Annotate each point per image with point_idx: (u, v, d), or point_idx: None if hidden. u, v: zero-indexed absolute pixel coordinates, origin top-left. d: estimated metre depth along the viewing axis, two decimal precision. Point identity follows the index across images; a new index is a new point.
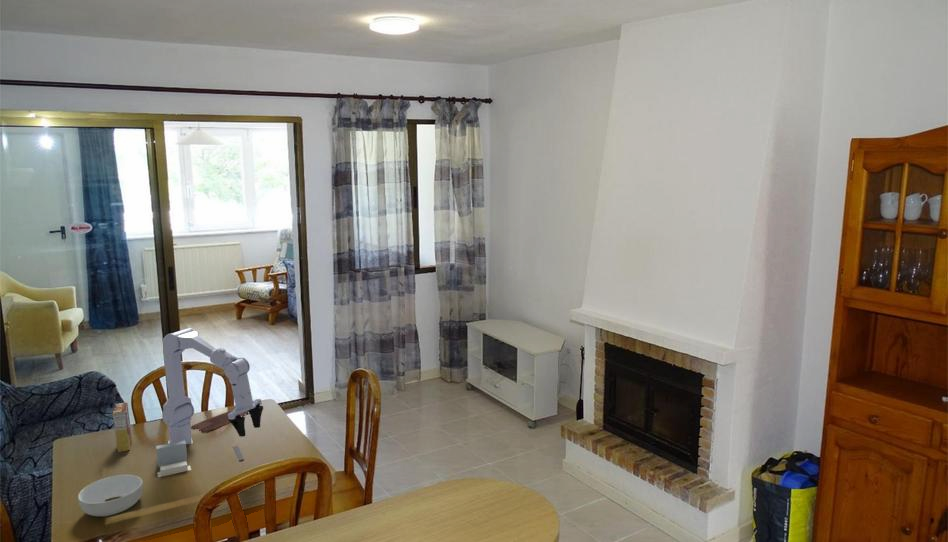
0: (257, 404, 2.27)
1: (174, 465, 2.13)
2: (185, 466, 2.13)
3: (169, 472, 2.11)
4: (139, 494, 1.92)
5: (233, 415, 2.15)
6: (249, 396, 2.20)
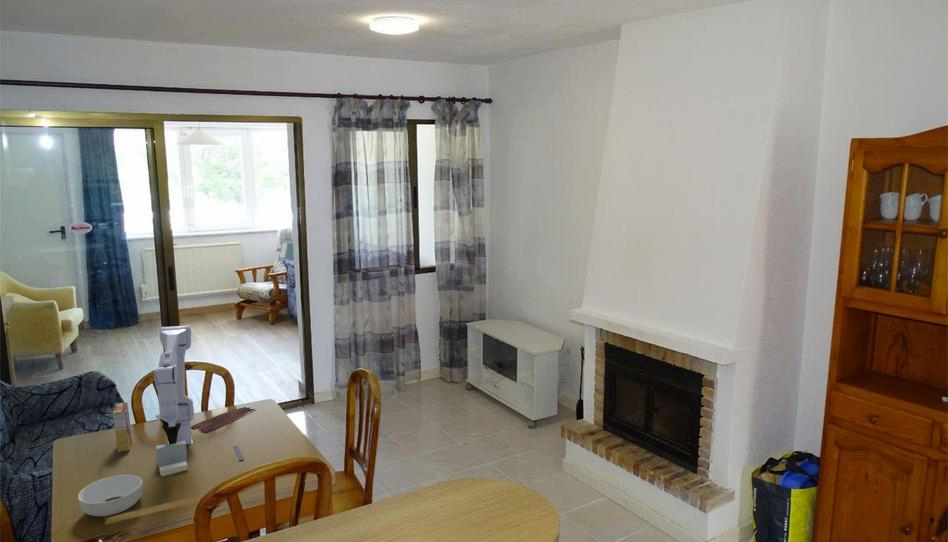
0: None
1: (174, 465, 2.13)
2: (185, 466, 2.14)
3: (169, 472, 2.11)
4: (139, 494, 1.92)
5: None
6: (159, 405, 2.14)
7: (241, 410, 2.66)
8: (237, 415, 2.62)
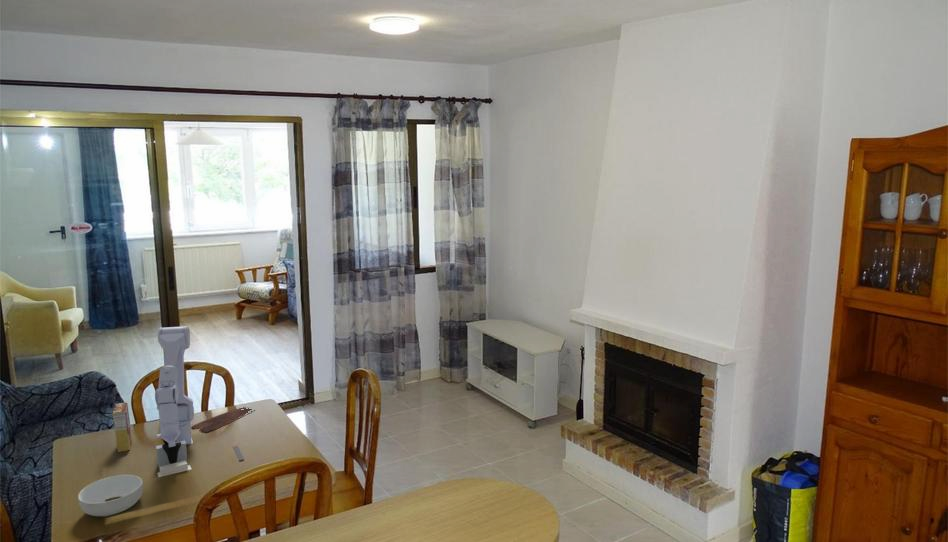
0: None
1: (174, 465, 2.13)
2: (185, 465, 2.14)
3: (169, 472, 2.11)
4: (139, 494, 1.92)
5: None
6: None
7: (241, 411, 2.66)
8: (237, 415, 2.62)
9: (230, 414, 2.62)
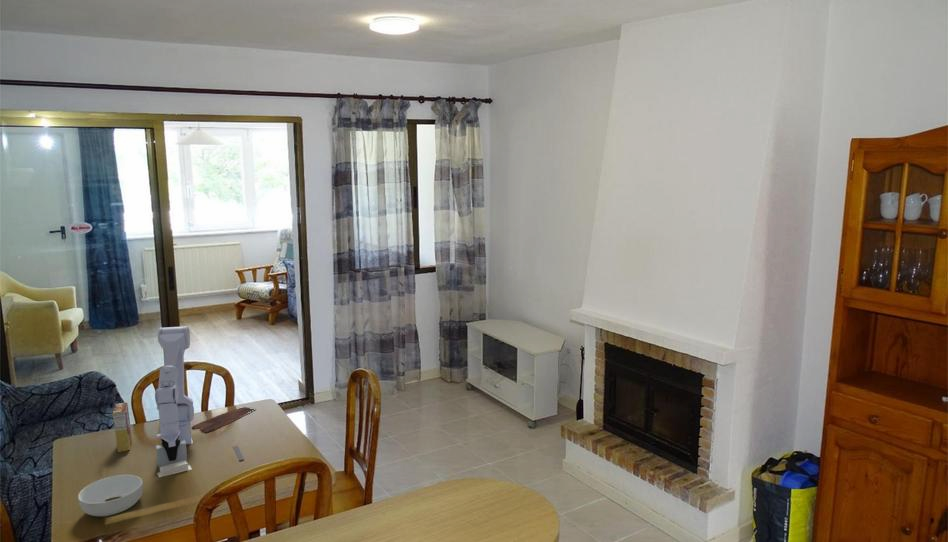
0: None
1: (174, 465, 2.13)
2: (186, 465, 2.14)
3: (170, 472, 2.11)
4: (139, 494, 1.92)
5: None
6: None
7: (241, 411, 2.66)
8: (237, 415, 2.62)
9: (230, 414, 2.62)
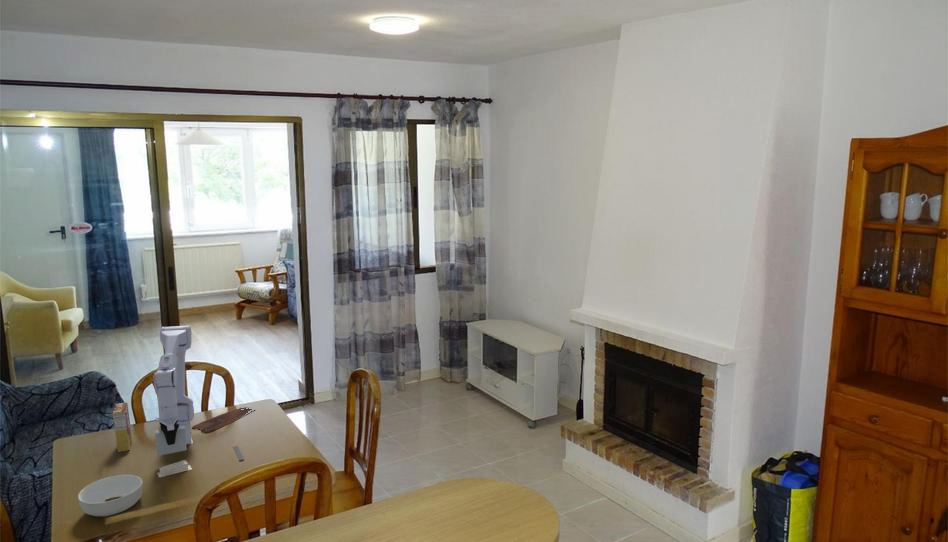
0: None
1: (174, 465, 2.13)
2: (186, 464, 2.14)
3: (171, 472, 2.11)
4: (139, 494, 1.92)
5: None
6: (158, 409, 2.15)
7: (241, 411, 2.66)
8: (237, 415, 2.62)
9: (230, 414, 2.62)
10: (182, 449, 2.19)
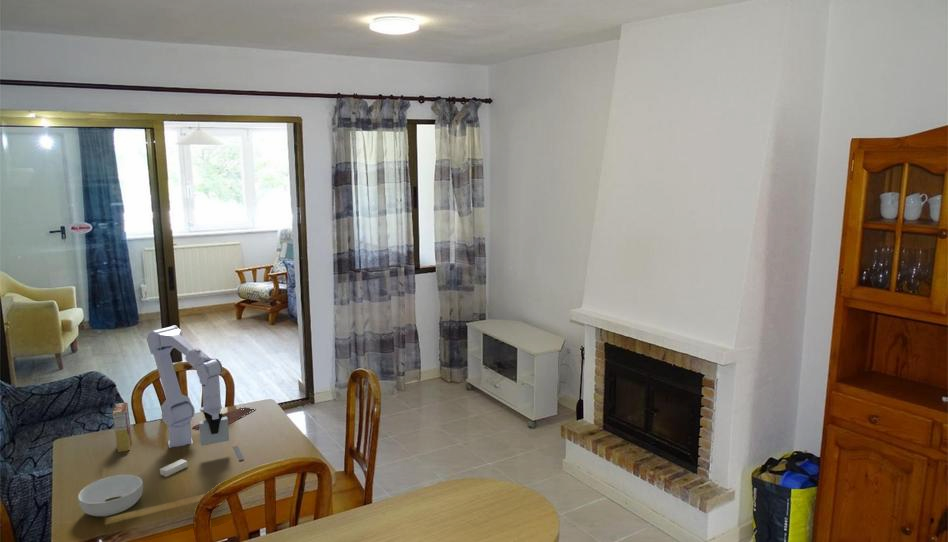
0: None
1: (174, 464, 2.14)
2: (185, 463, 2.16)
3: (173, 471, 2.12)
4: (139, 494, 1.92)
5: None
6: None
7: (241, 411, 2.66)
8: (237, 415, 2.62)
9: (230, 414, 2.62)
10: (225, 439, 2.25)
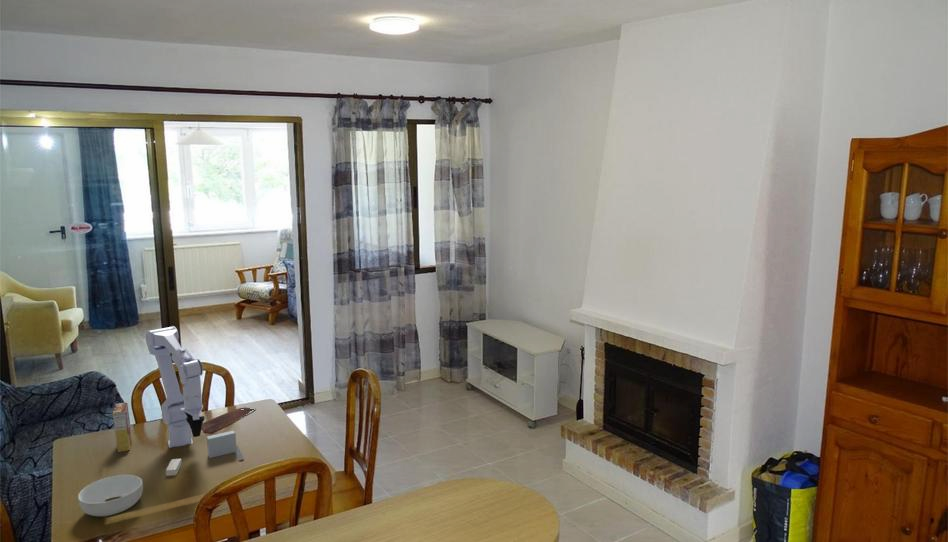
0: None
1: (173, 463, 2.14)
2: (180, 460, 2.18)
3: (177, 469, 2.13)
4: (139, 494, 1.92)
5: None
6: (183, 399, 2.20)
7: (241, 411, 2.66)
8: (238, 415, 2.62)
9: (231, 414, 2.62)
10: None
